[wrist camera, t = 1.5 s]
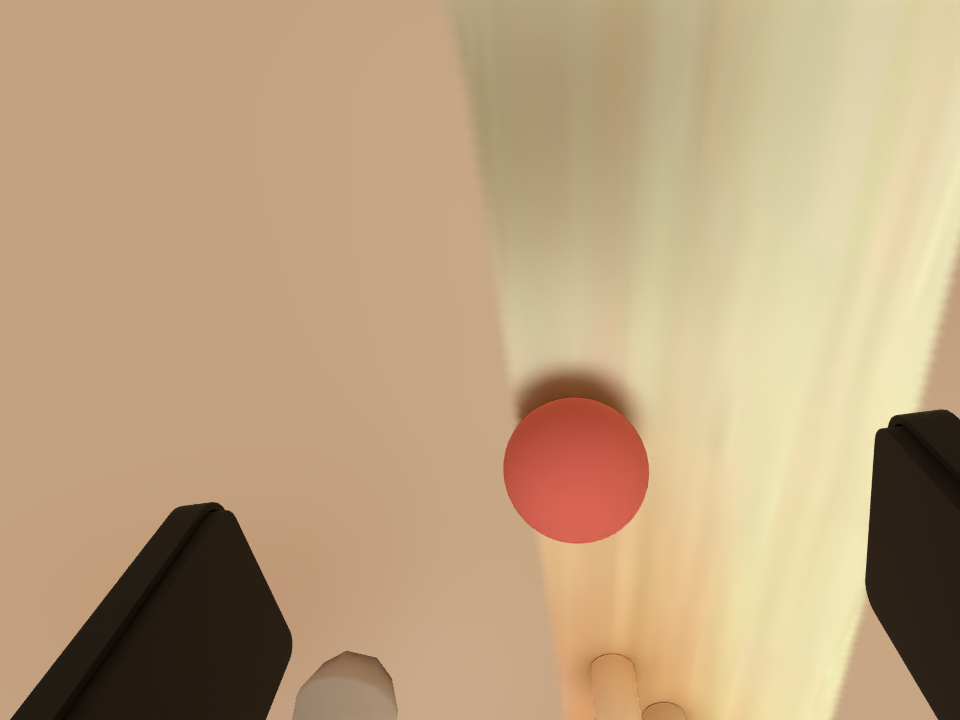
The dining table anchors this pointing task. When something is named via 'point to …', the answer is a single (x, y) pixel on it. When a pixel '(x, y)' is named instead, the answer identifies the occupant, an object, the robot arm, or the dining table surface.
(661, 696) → the dining table surface
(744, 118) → the dining table surface
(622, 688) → the pin
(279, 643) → the robot arm
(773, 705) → the dining table surface
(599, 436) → the ball
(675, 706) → the pin
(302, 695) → the salt shaker
